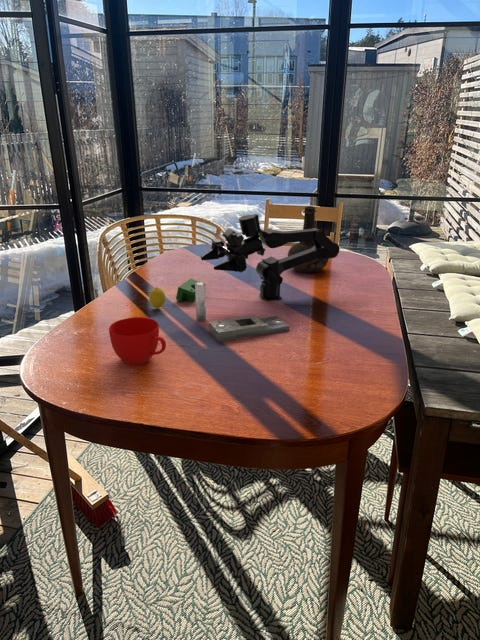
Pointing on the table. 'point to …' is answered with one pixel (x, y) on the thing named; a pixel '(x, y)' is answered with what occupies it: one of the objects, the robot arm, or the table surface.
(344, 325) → the table surface
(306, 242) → the glass bottle
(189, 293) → the clamp
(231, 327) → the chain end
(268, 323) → the plate
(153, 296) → the lemon
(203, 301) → the steel pin
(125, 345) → the ceramic cup
